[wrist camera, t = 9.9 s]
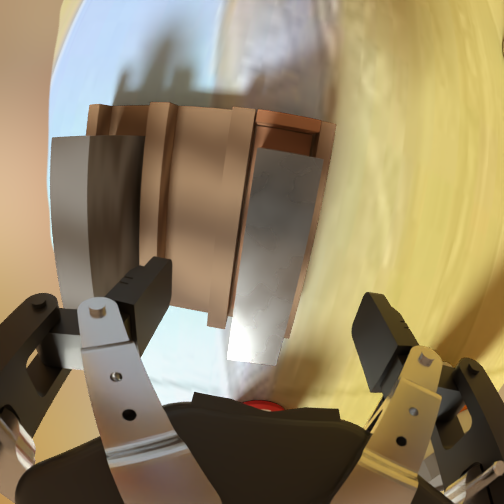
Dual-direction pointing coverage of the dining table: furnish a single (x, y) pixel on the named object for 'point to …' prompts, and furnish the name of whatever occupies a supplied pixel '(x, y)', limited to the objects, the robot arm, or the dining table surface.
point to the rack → (169, 197)
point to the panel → (272, 252)
